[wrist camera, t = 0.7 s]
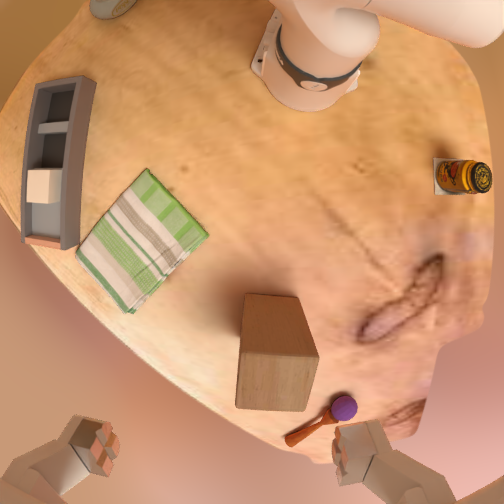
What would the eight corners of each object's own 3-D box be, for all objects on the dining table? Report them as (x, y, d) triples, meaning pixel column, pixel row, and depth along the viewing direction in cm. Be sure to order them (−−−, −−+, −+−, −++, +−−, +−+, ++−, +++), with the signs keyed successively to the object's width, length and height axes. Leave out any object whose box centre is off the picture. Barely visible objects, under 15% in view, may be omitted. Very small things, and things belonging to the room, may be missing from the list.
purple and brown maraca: (279, 443, 60) (347, 402, 55) (282, 428, 65) (346, 386, 60) (296, 455, 60) (363, 416, 54) (298, 439, 65) (361, 400, 60)
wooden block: (240, 339, 57) (234, 409, 37) (245, 292, 54) (240, 352, 35) (291, 343, 57) (305, 413, 37) (299, 296, 54) (320, 357, 35)
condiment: (432, 157, 48) (469, 156, 36) (462, 159, 47) (500, 159, 36) (434, 194, 49) (471, 200, 38) (464, 194, 49) (501, 200, 38)
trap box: (50, 89, 44) (35, 84, 39) (96, 82, 44) (83, 75, 39) (36, 236, 52) (21, 242, 46) (80, 243, 52) (65, 250, 47)
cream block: (40, 169, 46) (28, 170, 42) (62, 169, 46) (49, 170, 42) (38, 199, 47) (26, 201, 43) (60, 201, 47) (48, 203, 43)
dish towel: (77, 251, 53) (68, 256, 50) (147, 166, 49) (140, 165, 46) (134, 312, 56) (127, 320, 53) (212, 234, 52) (209, 238, 49)
